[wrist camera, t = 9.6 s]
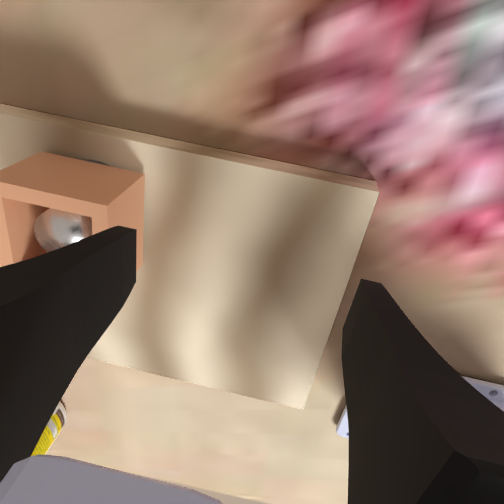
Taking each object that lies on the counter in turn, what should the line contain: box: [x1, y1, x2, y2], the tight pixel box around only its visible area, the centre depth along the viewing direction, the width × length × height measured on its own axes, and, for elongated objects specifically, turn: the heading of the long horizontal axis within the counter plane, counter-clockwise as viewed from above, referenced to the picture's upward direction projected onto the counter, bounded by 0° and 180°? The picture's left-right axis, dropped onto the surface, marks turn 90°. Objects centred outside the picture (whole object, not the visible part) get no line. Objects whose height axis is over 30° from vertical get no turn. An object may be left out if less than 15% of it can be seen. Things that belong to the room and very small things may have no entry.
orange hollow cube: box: [0, 151, 145, 272], centre depth 19 cm, size 5×5×5 cm
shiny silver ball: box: [34, 159, 109, 252], centre depth 20 cm, size 5×5×5 cm
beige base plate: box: [0, 104, 379, 410], centre depth 24 cm, size 20×16×2 cm
